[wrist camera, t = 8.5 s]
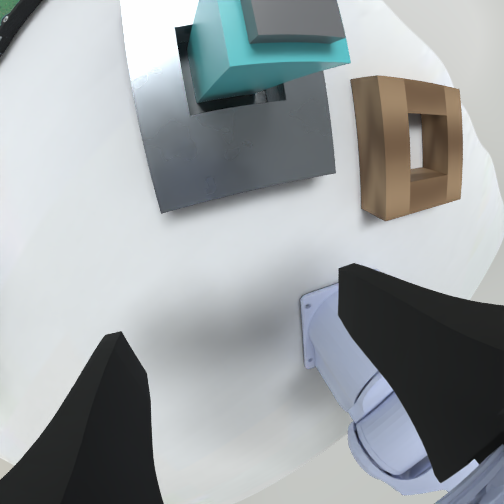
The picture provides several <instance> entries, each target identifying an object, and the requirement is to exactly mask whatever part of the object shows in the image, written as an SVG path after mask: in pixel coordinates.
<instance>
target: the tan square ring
mask: <svg viewBox="0 0 504 504" xmlns="http://www.w3.org/2000/svg"><path fill="white" fill-rule="evenodd" d="M351 85H352V92H353V99H354V107H355V115H356V125H357V135H358V147H359V161H360V179H361V209H363V210H365V211H367V212H369V213H371V214H373V215H375V216H377V217H379V218H381V219H382V220H384V221H388V220H391V219H395V218H398V217H402V216H405V215H408V214H412V213H415V212H419V211H422V210H425V209H429V208H432V207H435V206H439V205H442V204H446V203H449V202H452V201H456V200H459V199H460V198H461V185H462V164H463V134H462V113H461V101H460V91H459V89H456V88H452V87H447V86H443V85H438V84H433V83H428V82H422V81H416V80H410V79H403V78H396V77H387V76H378V75H377V76H369V77H362V78H356V79H351ZM408 113H417V114H421V121H422V138H423V167H422V168H415V169H410V137H409V121H408Z"/></svg>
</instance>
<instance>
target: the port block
mask: <svg viewBox="0 0 504 504" xmlns="http://www.w3.org/2000/svg"><path fill="white" fill-rule="evenodd" d="M198 1H199V0H121V11H122V21H123V30H124V38H125V46H126V54H127V60H128V67H129V73H130V79H131V85H132V91H133V96H134V102H135V107H136V112H137V117H138V122H139V126H140V131H141V136H142V140H143V145H144V149H145V153H146V157H147V162H148V166H149V170H150V174H151V178H152V181H153V185H154V189H155V193H156V197H157V200H158V204H159V207H160V211H161V214H162V213H165V212H169V211H173V210H176V209H180V208H183V207H187V206H191V205H195V204H198V203H202V202H206V201H210V200H214V199H218V198H222V197H226V196H230V195H234V194H238V193H243V192H247V191H251V190H256V189H260V188H265V187H269V186H274V185H278V184H283V183H288V182H293V181H298V180H303V179H308V178H313V177H318V176H323V175H329V174H334V173H336V170H335V158H334V147H333V138H332V129H331V121H330V113H329V105H328V98H327V92H326V85H325V79H324V73H323V71H319V72H316V73H312V74H309V75H306V76H303V77H300V78H297V79H294V80H291V81H288V82H285V83H282V84H279V85H277V86H274V87H271V88H268V89H266V96H267V102H266V103H258V104H251V105H244V106H238V107H232V108H226V109H220V110H215V111H210V112H205V113H200V114H195V115H191V116H190V113H189V107H188V102H187V97H186V92H185V86H184V81H183V75H182V70H181V64H180V58H179V53H178V47H177V43H181V42H186V41H189V38H190V34H191V29H192V25H193V21H194V17H195V13H196V9H197V5H198Z"/></svg>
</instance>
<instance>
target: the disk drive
mask: <svg viewBox="0 0 504 504" xmlns="http://www.w3.org/2000/svg"><path fill="white" fill-rule="evenodd" d="M41 1H42V0H0V57H1V55H2V54H3V53H4V51H5V50H6V48H7V46H8V45H9V44H10V42H11V41H12V39H13V37H14V36H15V34H16V33H17V31H18V30H19V29H20V27H21V26H22V25H23V23H24V22H25V21H26V19H27V18H28V17H29V16H30V14H31V13H32V12H33V11H34V10H35V8H36V7H37V6H38V5H39V4H40V3H41Z"/></svg>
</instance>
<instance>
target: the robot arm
mask: <svg viewBox="0 0 504 504" xmlns="http://www.w3.org/2000/svg"><path fill="white" fill-rule="evenodd" d="M307 304H308V305H307ZM306 305H307V306H306ZM301 314H302V328H303V344H304V362H305V367H306V369H311V368H313V367H316V368H317V369H318V371H319V373H320V374H321V376H322V377H323V379H324V381H325V382H326V384H327V386H328V387H329V389H330V390H331V392H332V394H333V395H334V397H335V399H336V400H337V402H338V403H339V405H340V406H341V407H342V408H343V409H344V410H345V411H346V412H348V413H349V414H350V416H351V418H352V419H353V422H352V423H351V424H350V425H349V427H348V444H349V448H350V450H351V453H352V455H353V456H354V458H355V460H356V461H357V463H358V464H359V465H360V467H361V468H362V469H363V470H364V471H365V472H366V473H368V474H369V475H370V476H372V477H374V478H376V479H379V480H381V481H383V482H385V483H387V484H388V485H390V486H391V487H392V488H394V489H395V490H396V491H399V492H400V493H401V494H402V495H414V494H422V493H427V492H433V491H439V490H446V491H447V492H448V493H447V494H446V495H445V496H443V497H442V498H441V499H440V500H438V501H437V502H436V503H434V504H504V306H503V305H494V304H488V303H481V302H475V301H470V300H466V299H462V298H457V297H453V296H449V295H446V294H442V293H439V292H436V291H433V290H430V289H426V288H423V287H420V286H418V285H415V284H412V283H409V282H406V281H404V280H401V279H398V278H395V277H393V276H390V275H387V274H385V273H382V272H380V271H379V270H377V269H375V270H374V269H371V268H368V267H365V266H362V265H359V264H355V263H353V264H350V265H347V266H344V267H341V268H339V283H337V284H334V285H331V286H329V287H326V288H323V289H320V290H317V291H314V292H311V293H308V294H306V295H304V296H303V297H302V298H301ZM0 504H164V503H163V500H162V497H161V493H160V489H159V485H158V481H157V477H156V472H155V466H154V459H153V446H152V426H151V400H150V392H149V385H148V378H147V373H146V371H145V369H144V368H143V366H142V365H141V363H140V362H139V360H138V358H137V357H136V355H135V354H134V352H133V350H132V349H131V347H130V345H129V344H128V342H127V340H126V338H125V337H124V335H123V333H122V331H120V332H116V333H112V334H108V335H105V336H104V337H103V339H102V340H101V342H100V343H99V345H98V346H97V348H96V349H95V351H94V353H93V354H92V356H91V357H90V359H89V361H88V362H87V364H86V366H85V367H84V369H83V371H82V372H81V374H80V376H79V377H78V379H77V381H76V383H75V384H74V386H73V387H72V389H71V391H70V392H69V394H68V395H67V397H66V398H65V400H64V402H63V403H62V405H61V407H60V408H59V410H58V411H57V413H56V414H55V416H54V417H53V419H52V420H51V422H50V423H49V424H48V426H47V427H46V429H45V430H44V431H43V433H42V434H41V435H40V437H39V438H38V439H37V440H36V442H35V443H34V444H33V445H32V446H31V448H30V449H29V450H28V451H27V452H26V454H25V455H24V456H23V457H22V458H21V460H20V461H19V462H18V463H17V464H16V465H15V466H14V467H13V468H12V469H11V470H10V471H9V472H8V473H7V474H6V475H5V476H4V477H3V478H2V479H1V480H0Z"/></svg>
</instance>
